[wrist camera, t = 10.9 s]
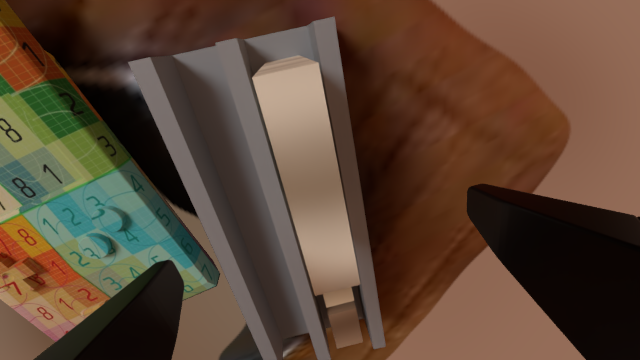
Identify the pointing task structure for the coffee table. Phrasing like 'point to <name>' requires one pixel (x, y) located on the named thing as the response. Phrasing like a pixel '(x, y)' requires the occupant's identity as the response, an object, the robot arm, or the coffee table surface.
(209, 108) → the rack
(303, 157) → the beige square panel
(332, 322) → the offcut dark
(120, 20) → the coffee table surface
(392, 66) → the coffee table surface
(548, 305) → the robot arm
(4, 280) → the puzzle game
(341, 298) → the offcut light
